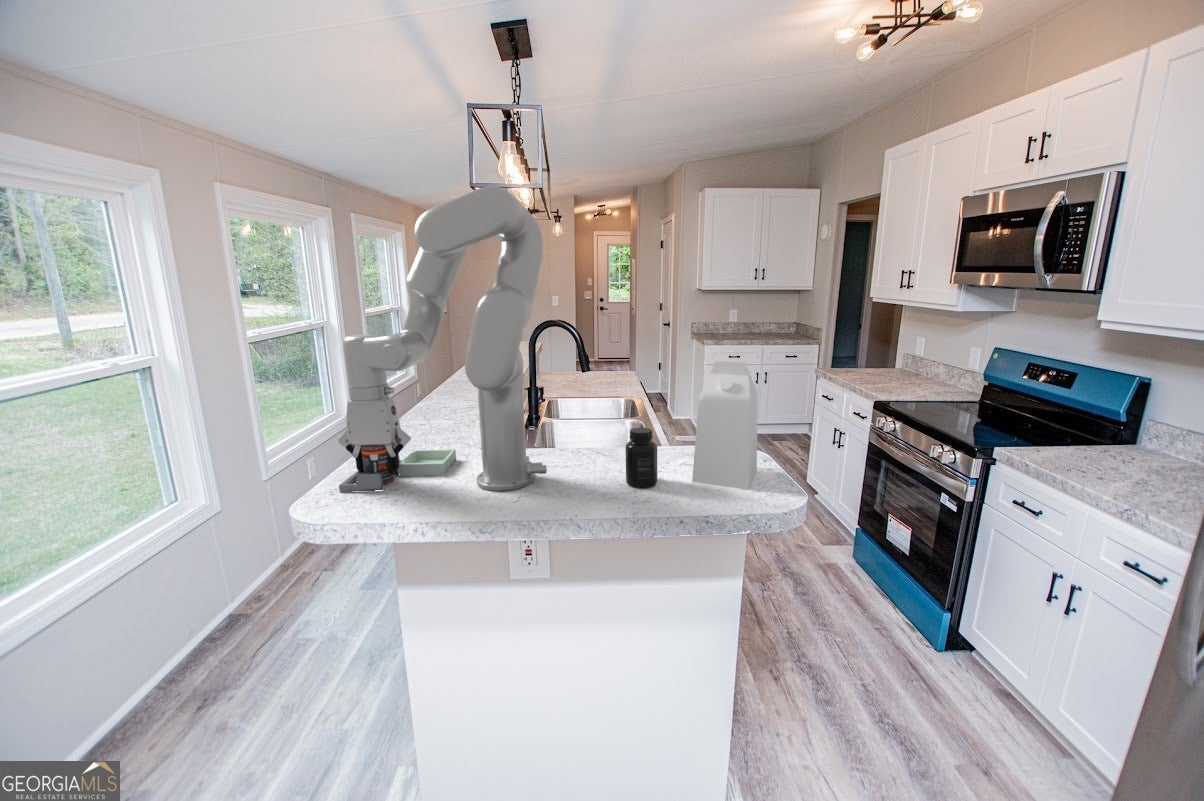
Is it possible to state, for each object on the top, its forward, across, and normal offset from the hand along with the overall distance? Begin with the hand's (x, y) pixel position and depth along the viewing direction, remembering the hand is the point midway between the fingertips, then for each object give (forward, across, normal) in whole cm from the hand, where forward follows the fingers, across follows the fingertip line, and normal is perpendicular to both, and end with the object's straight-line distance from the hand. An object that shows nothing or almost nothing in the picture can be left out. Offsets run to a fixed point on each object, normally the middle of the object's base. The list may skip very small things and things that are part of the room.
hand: (378, 471), depth 112 cm
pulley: (+3, +1, -11) cm, 11 cm away
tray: (+3, -8, -9) cm, 12 cm away
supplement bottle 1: (+3, 0, 0) cm, 3 cm away
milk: (+3, -77, 0) cm, 77 cm away
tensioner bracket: (+3, +2, 0) cm, 3 cm away
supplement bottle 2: (+3, -58, +3) cm, 58 cm away
